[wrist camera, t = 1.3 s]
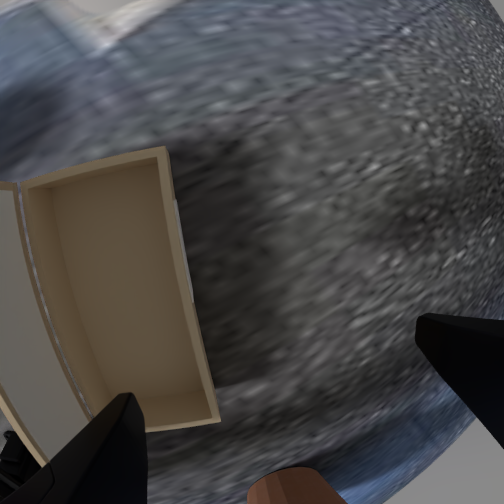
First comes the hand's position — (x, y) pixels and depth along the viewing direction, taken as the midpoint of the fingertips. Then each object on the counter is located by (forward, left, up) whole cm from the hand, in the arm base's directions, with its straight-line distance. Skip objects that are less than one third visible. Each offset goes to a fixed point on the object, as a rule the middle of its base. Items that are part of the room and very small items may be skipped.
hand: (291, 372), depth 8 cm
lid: (-1, +11, -5) cm, 12 cm away
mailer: (-1, +7, -13) cm, 15 cm away
